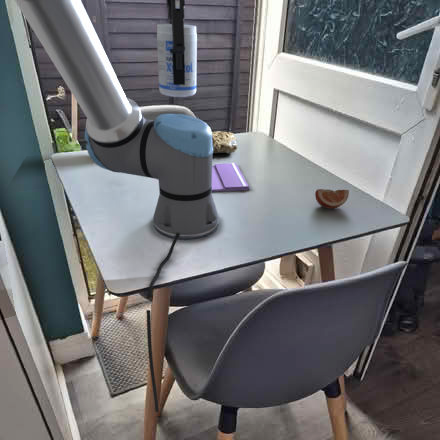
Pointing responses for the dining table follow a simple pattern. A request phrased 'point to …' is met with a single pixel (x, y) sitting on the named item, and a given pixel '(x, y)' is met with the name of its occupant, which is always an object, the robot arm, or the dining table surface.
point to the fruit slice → (331, 197)
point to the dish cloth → (228, 178)
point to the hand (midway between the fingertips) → (177, 80)
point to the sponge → (223, 142)
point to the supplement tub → (167, 61)
